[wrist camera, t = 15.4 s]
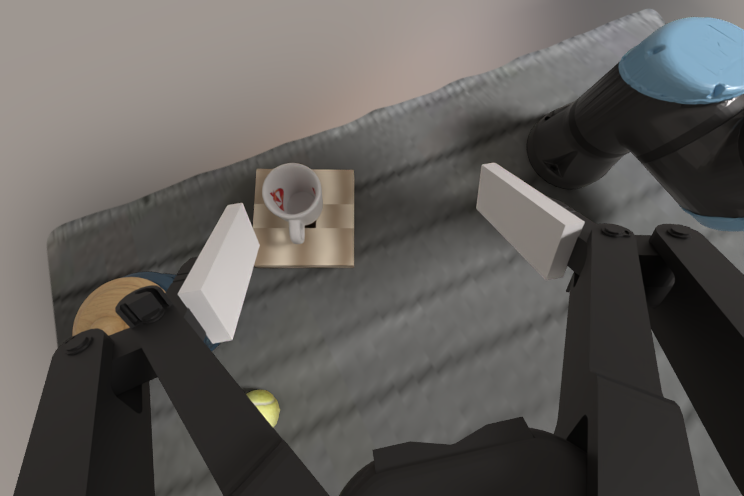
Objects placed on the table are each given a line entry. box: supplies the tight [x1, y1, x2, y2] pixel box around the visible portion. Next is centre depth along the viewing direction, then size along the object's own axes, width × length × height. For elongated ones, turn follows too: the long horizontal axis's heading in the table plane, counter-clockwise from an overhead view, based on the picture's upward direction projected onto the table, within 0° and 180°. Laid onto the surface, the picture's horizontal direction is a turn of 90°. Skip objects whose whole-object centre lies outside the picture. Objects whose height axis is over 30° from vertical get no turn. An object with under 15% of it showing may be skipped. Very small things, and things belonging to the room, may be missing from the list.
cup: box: [262, 163, 323, 244], centre depth 42 cm, size 11×8×8 cm
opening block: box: [253, 169, 354, 268], centre depth 48 cm, size 16×16×4 cm
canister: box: [73, 272, 221, 351], centre depth 38 cm, size 13×13×18 cm
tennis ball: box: [246, 389, 280, 427], centre depth 42 cm, size 6×7×7 cm
